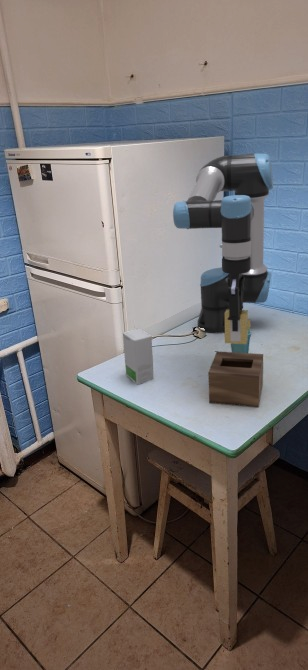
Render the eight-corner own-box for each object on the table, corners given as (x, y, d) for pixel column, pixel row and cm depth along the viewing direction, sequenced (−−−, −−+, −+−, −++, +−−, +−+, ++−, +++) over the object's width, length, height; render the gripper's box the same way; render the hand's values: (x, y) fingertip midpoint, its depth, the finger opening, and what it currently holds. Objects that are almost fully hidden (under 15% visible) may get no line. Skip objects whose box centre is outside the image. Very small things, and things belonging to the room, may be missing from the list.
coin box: (217, 380, 148) (216, 351, 144) (262, 383, 144) (263, 354, 140) (209, 402, 136) (208, 372, 132) (258, 407, 132) (259, 375, 128)
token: (226, 339, 136) (226, 309, 132) (247, 340, 134) (247, 310, 130) (225, 343, 133) (224, 313, 130) (246, 344, 131) (246, 314, 128)
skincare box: (125, 375, 156) (121, 332, 150) (143, 369, 159) (139, 327, 153) (137, 385, 149) (133, 340, 143) (155, 379, 152) (152, 334, 146)
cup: (242, 372, 152) (242, 329, 146) (220, 368, 155) (219, 326, 150) (256, 355, 163) (257, 314, 157) (235, 351, 166) (235, 312, 161)
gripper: (226, 249, 132) (227, 327, 141) (216, 264, 118) (218, 349, 127) (253, 249, 130) (252, 328, 139) (247, 264, 116) (246, 350, 125)
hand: (236, 338), depth 133 cm, fingers closed on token, 3 cm apart
